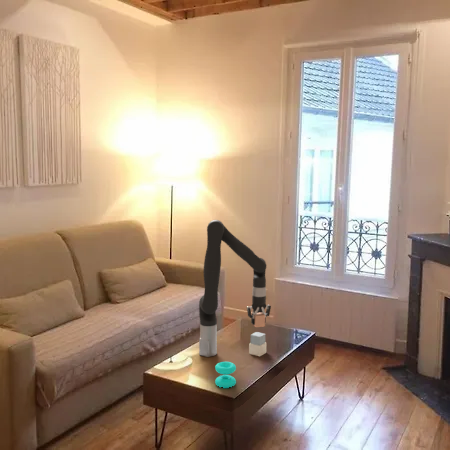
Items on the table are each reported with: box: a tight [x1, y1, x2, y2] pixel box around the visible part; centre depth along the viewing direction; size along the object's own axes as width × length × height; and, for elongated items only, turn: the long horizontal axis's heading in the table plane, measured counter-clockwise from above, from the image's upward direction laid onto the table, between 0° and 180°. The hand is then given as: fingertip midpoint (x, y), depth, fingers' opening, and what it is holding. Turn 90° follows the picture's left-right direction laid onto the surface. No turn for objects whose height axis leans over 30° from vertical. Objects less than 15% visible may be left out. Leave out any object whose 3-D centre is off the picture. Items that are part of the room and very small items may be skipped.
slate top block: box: [250, 331, 266, 346], centre depth 274 cm, size 6×6×5 cm
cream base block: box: [248, 341, 267, 357], centre depth 275 cm, size 7×7×6 cm
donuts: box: [214, 361, 237, 389], centre depth 235 cm, size 10×10×10 cm
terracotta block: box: [251, 312, 266, 328], centre depth 272 cm, size 6×6×6 cm
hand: (258, 323), depth 272 cm, fingers closed on terracotta block, 5 cm apart
